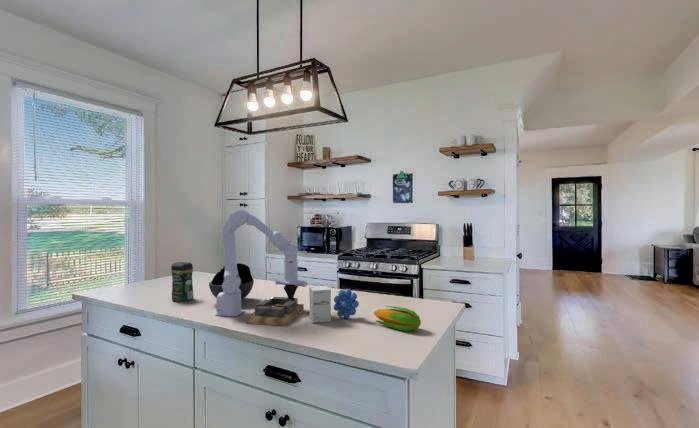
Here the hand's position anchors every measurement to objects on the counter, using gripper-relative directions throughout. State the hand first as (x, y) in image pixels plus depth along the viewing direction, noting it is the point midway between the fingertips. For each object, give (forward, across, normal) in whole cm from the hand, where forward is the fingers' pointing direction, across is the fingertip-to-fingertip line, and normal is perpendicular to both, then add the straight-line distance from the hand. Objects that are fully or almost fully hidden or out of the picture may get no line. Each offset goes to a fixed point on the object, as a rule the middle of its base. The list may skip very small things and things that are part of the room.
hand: (291, 301), depth 149 cm
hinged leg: (+1, -2, -3) cm, 4 cm away
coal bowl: (+4, -33, +2) cm, 33 cm away
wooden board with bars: (+3, -1, -10) cm, 11 cm away
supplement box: (+3, +18, -8) cm, 20 cm away
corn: (+3, +48, -7) cm, 48 cm away
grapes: (+3, +27, -3) cm, 28 cm away
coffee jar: (+4, -60, -2) cm, 60 cm away
